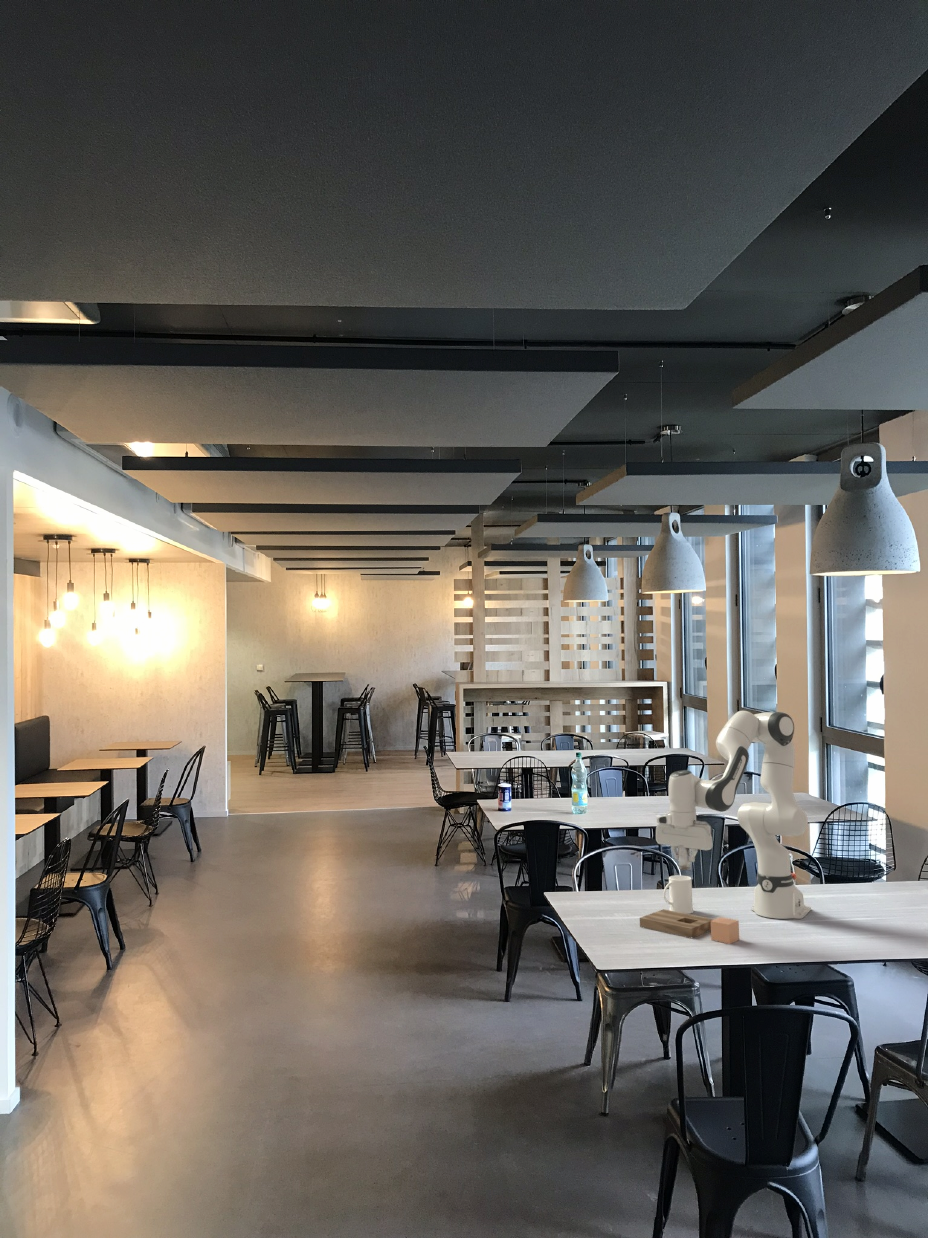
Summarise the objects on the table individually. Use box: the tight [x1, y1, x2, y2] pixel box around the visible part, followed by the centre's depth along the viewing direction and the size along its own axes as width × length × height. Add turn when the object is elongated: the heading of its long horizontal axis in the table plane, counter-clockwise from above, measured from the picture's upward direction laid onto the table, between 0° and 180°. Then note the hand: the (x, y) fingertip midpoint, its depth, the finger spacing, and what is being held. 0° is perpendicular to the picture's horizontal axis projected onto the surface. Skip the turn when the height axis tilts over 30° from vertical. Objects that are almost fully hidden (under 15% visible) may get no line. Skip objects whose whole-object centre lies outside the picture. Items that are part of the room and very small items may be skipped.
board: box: [639, 908, 715, 938], centre depth 290 cm, size 15×20×3 cm
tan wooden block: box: [710, 916, 740, 945], centre depth 275 cm, size 6×6×6 cm
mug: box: [663, 874, 694, 915], centre depth 311 cm, size 12×8×12 cm
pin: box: [677, 845, 692, 871], centre depth 289 cm, size 4×4×8 cm
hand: (684, 860), depth 289 cm, fingers closed on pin, 4 cm apart
